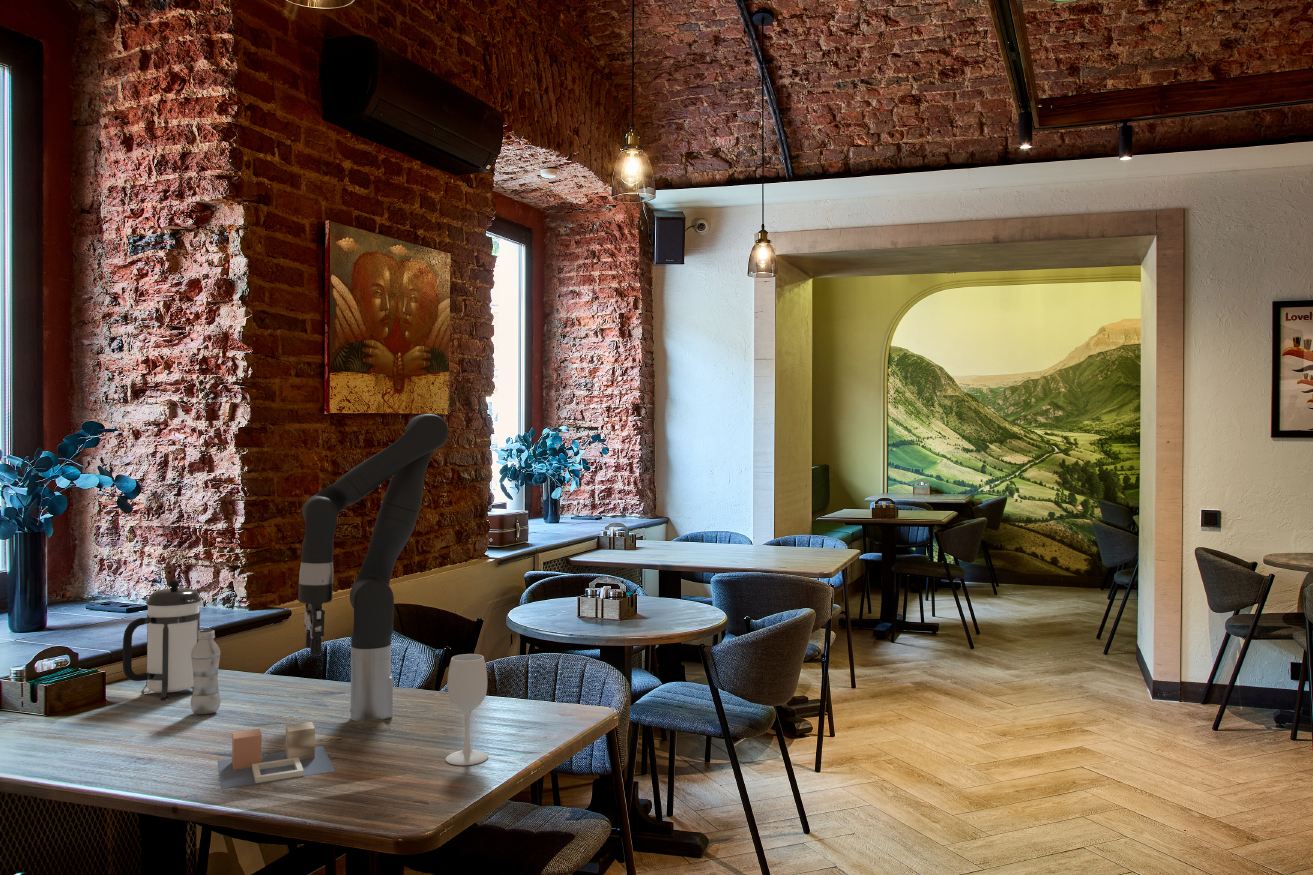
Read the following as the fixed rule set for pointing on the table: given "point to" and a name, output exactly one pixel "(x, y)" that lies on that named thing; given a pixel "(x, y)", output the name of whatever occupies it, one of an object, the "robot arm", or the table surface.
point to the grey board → (274, 769)
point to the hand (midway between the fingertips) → (312, 651)
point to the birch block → (300, 741)
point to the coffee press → (167, 640)
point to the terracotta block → (246, 748)
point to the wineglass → (467, 700)
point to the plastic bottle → (205, 674)
